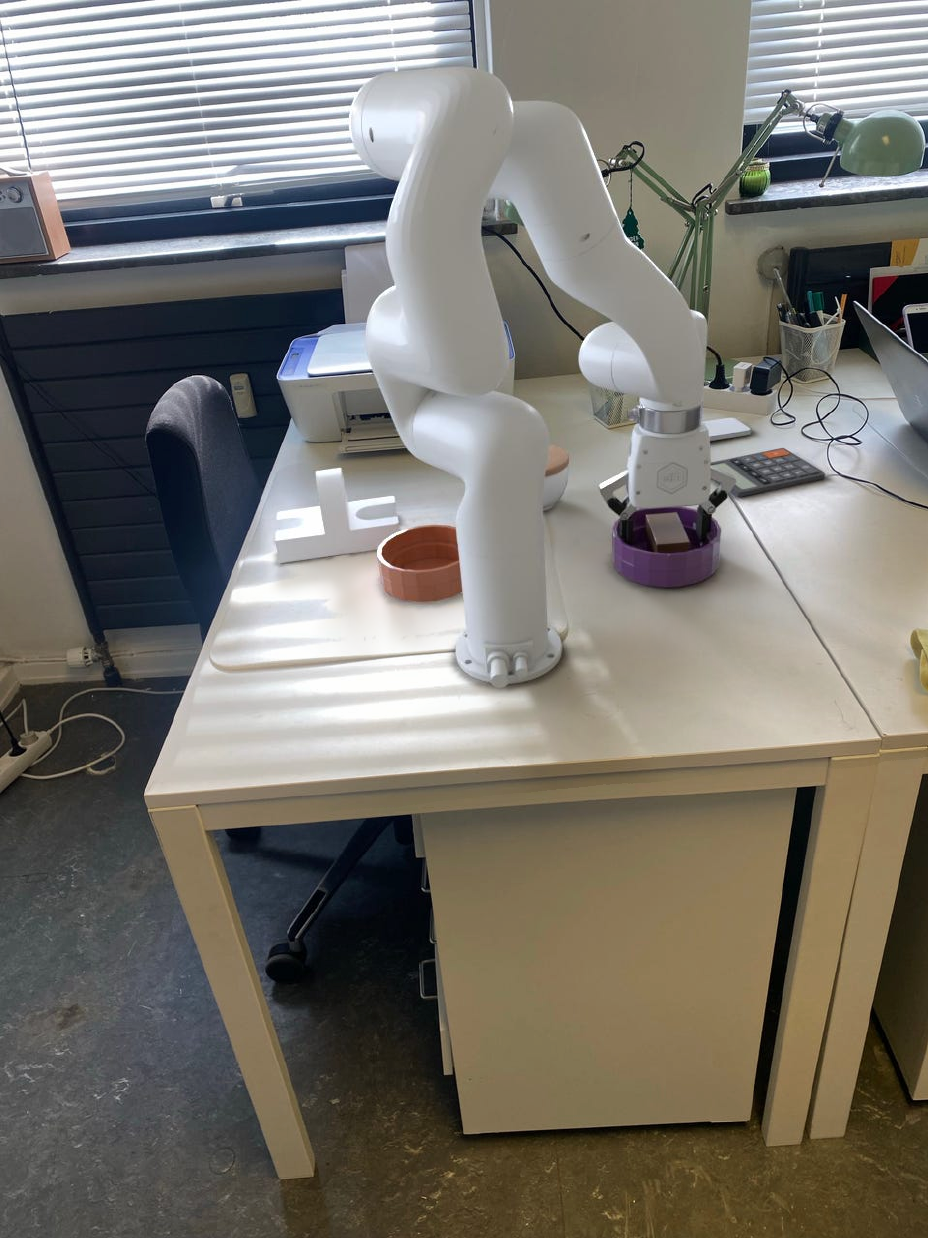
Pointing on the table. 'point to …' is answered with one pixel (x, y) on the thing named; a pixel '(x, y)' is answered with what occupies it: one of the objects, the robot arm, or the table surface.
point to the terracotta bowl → (421, 563)
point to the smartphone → (726, 428)
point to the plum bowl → (666, 566)
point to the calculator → (768, 471)
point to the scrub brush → (666, 534)
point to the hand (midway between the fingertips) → (664, 539)
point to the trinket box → (555, 476)
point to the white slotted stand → (334, 523)
